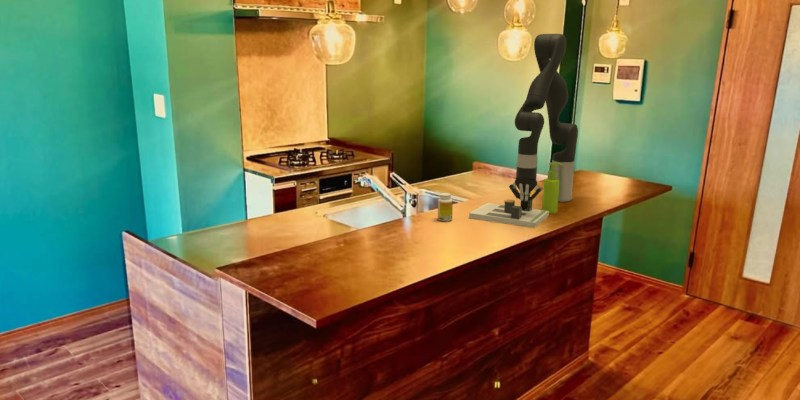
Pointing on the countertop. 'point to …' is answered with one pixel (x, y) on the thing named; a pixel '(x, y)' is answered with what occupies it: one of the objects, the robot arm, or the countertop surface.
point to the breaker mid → (509, 205)
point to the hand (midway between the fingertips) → (524, 209)
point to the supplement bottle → (445, 207)
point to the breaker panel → (508, 215)
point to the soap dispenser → (551, 190)
